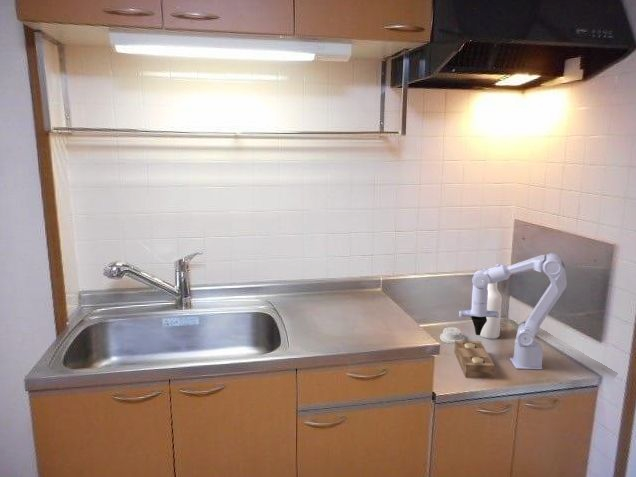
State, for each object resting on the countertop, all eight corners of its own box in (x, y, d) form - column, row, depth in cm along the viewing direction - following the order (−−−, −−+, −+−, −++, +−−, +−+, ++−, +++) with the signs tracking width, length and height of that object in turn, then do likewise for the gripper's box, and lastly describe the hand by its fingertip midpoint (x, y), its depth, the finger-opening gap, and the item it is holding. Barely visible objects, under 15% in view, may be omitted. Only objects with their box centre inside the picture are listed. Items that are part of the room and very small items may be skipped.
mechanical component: (467, 338, 198) (445, 332, 204) (468, 329, 197) (446, 323, 203) (458, 346, 190) (436, 340, 196) (458, 336, 189) (436, 331, 195)
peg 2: (481, 368, 170) (481, 357, 169) (483, 374, 166) (484, 362, 165) (470, 368, 171) (470, 356, 170) (472, 374, 167) (473, 362, 166)
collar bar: (479, 352, 184) (480, 341, 183) (493, 378, 164) (494, 365, 163) (454, 352, 185) (454, 340, 184) (465, 377, 165) (466, 364, 164)
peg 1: (473, 354, 182) (473, 342, 181) (475, 358, 178) (476, 347, 177) (463, 353, 182) (463, 342, 181) (465, 358, 179) (465, 347, 178)
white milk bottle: (484, 329, 206) (487, 265, 199) (503, 335, 199) (507, 269, 193) (474, 335, 200) (477, 269, 193) (493, 341, 194) (497, 273, 187)
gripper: (495, 297, 179) (493, 330, 182) (458, 297, 181) (456, 329, 184) (501, 304, 172) (499, 337, 175) (462, 303, 174) (460, 337, 177)
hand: (477, 334), depth 179 cm, fingers closed
